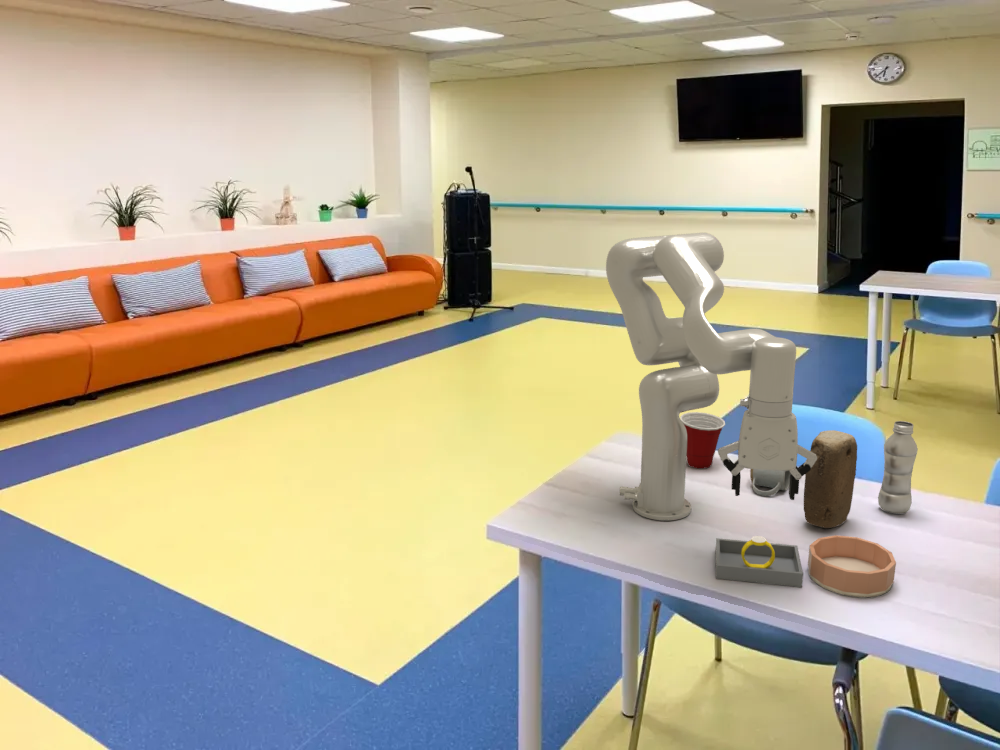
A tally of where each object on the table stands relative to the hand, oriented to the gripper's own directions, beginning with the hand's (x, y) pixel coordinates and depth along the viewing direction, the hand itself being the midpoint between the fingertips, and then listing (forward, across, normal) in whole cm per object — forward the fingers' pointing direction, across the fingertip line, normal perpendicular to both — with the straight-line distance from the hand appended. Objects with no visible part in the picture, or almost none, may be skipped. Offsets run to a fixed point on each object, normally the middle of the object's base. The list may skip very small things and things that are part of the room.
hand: (764, 495), depth 160 cm
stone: (+15, +15, +23) cm, 32 cm away
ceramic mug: (+15, +4, +40) cm, 43 cm away
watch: (+15, 0, 0) cm, 15 cm away
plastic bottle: (+15, +30, +32) cm, 46 cm away
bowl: (+15, +16, 0) cm, 22 cm away
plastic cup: (+15, -11, +51) cm, 55 cm away
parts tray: (+15, 0, 0) cm, 15 cm away
